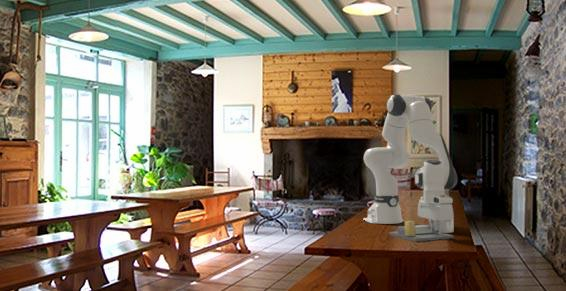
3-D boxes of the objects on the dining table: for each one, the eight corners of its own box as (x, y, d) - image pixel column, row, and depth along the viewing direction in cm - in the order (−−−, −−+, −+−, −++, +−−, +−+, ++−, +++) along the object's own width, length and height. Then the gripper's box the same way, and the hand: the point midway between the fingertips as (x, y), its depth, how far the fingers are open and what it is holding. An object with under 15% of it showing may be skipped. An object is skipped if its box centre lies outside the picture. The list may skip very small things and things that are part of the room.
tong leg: (415, 234, 235) (415, 226, 235) (412, 233, 238) (412, 225, 238) (439, 232, 239) (438, 225, 239) (435, 231, 242) (435, 224, 242)
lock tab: (404, 235, 233) (404, 221, 233) (410, 234, 234) (410, 220, 234) (408, 236, 230) (408, 221, 230) (414, 235, 231) (414, 221, 231)
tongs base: (397, 233, 239) (397, 226, 239) (430, 231, 245) (430, 223, 245) (405, 235, 233) (405, 228, 234) (438, 232, 240) (438, 225, 240)
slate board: (389, 234, 244) (389, 232, 244) (424, 231, 251) (424, 229, 251) (415, 241, 225) (415, 238, 225) (453, 238, 232) (453, 235, 232)
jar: (444, 233, 245) (443, 206, 245) (429, 231, 252) (429, 205, 252) (457, 231, 250) (456, 205, 250) (443, 229, 257) (442, 204, 257)
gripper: (413, 196, 244) (414, 227, 244) (442, 199, 225) (443, 233, 225) (425, 195, 246) (426, 226, 246) (455, 199, 227) (456, 232, 227)
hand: (434, 230), depth 235 cm, fingers closed
